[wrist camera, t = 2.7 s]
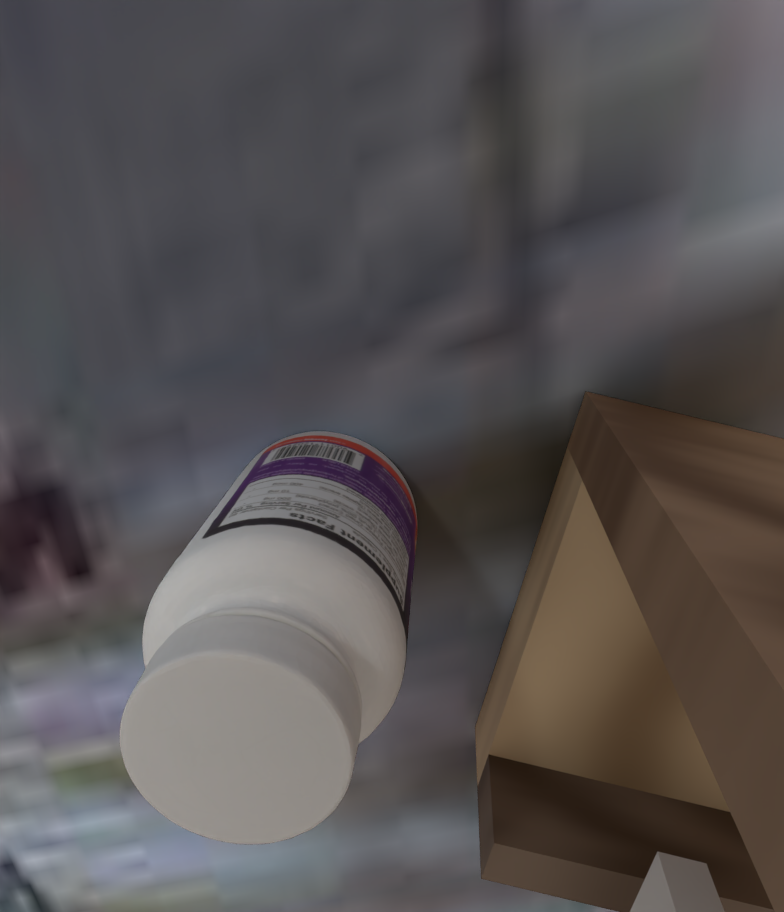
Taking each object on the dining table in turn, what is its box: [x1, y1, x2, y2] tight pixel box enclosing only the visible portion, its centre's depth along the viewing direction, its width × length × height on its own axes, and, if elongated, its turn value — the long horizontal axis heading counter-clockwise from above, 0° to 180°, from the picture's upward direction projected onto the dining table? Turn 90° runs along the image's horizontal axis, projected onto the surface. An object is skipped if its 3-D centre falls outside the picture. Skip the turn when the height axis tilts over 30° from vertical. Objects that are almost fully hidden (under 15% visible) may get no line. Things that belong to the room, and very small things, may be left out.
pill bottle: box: [120, 431, 417, 844], centre depth 17 cm, size 5×5×10 cm
